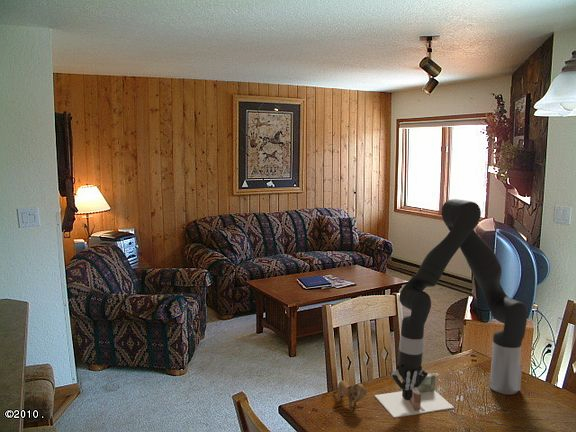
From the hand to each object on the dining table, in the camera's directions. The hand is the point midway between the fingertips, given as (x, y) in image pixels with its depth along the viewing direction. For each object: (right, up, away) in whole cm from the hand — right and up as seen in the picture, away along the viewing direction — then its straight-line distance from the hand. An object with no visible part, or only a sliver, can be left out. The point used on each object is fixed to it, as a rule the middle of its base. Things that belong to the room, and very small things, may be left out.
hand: (406, 399), depth 162 cm
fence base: (+7, -2, +11) cm, 13 cm away
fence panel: (+3, -2, +4) cm, 5 cm away
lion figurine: (-18, -3, +4) cm, 19 cm away
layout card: (+4, -3, +5) cm, 7 cm away
